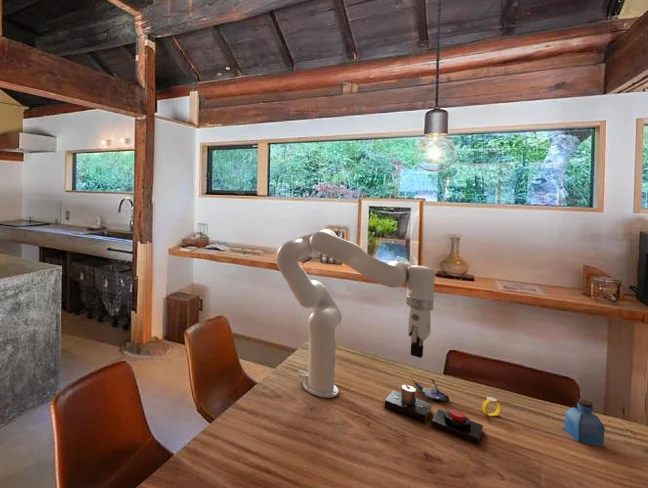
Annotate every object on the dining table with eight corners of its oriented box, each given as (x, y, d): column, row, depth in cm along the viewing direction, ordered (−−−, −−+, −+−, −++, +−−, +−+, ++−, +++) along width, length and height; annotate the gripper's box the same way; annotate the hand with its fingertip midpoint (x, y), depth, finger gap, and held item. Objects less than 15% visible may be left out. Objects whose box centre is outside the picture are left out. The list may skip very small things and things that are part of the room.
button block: (431, 426, 131) (432, 415, 130) (438, 414, 137) (438, 403, 137) (478, 445, 122) (478, 432, 122) (482, 431, 129) (483, 419, 129)
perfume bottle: (588, 434, 128) (590, 398, 128) (603, 446, 123) (605, 409, 122) (564, 429, 130) (566, 394, 130) (577, 441, 125) (580, 405, 124)
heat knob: (417, 406, 137) (418, 391, 137) (403, 404, 138) (403, 389, 138) (412, 399, 141) (413, 385, 141) (399, 397, 142) (399, 383, 142)
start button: (448, 418, 130) (449, 413, 130) (451, 413, 132) (451, 408, 132) (464, 424, 127) (464, 418, 127) (466, 418, 129) (466, 413, 129)
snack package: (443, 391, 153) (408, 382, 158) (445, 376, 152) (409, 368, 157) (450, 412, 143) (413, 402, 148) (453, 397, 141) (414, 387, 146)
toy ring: (495, 413, 139) (496, 396, 139) (503, 417, 136) (504, 401, 136) (479, 413, 139) (480, 396, 139) (486, 418, 136) (487, 401, 136)
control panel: (384, 408, 141) (385, 399, 141) (392, 397, 148) (393, 389, 147) (424, 424, 132) (425, 414, 132) (431, 412, 139) (431, 403, 139)
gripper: (427, 310, 124) (424, 367, 125) (437, 301, 135) (434, 353, 135) (400, 304, 130) (397, 358, 130) (412, 295, 140) (409, 345, 141)
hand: (416, 355), depth 133 cm, fingers closed
